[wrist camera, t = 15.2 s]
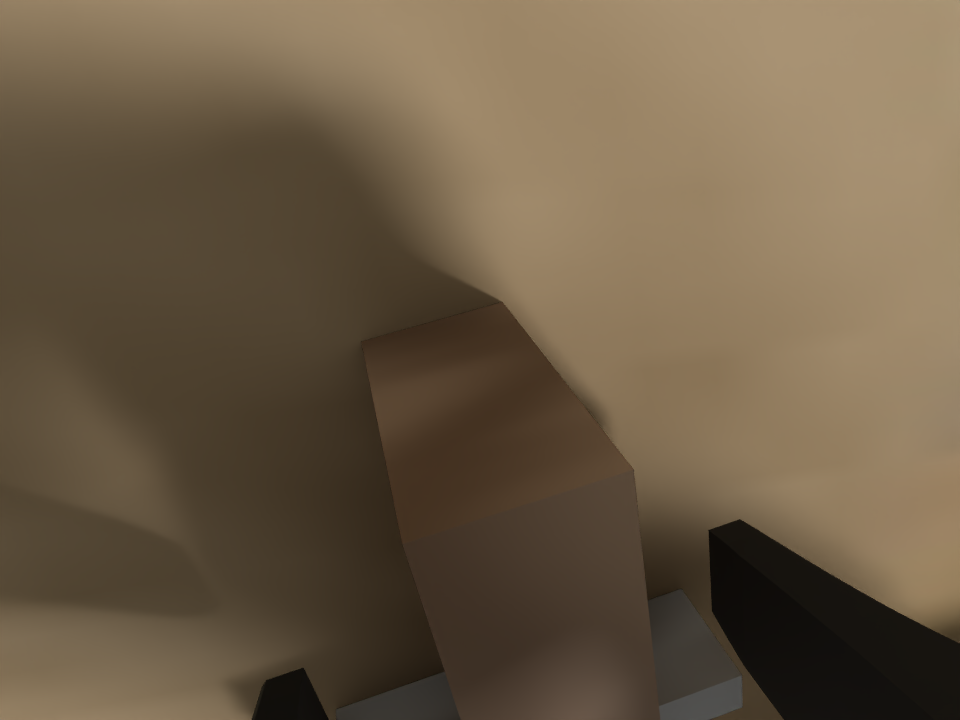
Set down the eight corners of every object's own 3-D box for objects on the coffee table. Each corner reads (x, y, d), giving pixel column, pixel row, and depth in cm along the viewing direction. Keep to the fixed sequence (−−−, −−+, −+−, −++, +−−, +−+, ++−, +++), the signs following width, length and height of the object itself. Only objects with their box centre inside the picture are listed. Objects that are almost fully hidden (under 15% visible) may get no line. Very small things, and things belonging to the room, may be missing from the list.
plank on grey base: (656, 257, 11) (878, 391, 7) (682, 617, 16) (832, 842, 11) (187, 389, 10) (103, 640, 6) (349, 736, 15) (369, 1034, 10)
